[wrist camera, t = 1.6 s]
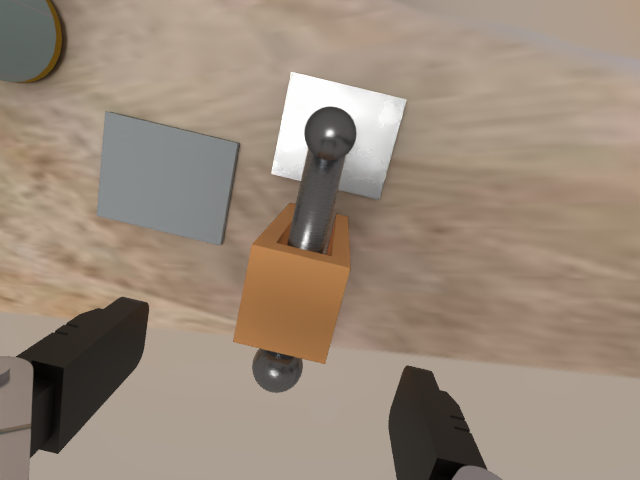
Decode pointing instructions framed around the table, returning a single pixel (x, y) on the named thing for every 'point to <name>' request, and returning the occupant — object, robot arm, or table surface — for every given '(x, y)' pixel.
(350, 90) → the stand
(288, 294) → the link
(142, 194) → the mat
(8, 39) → the bottle
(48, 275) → the table surface
